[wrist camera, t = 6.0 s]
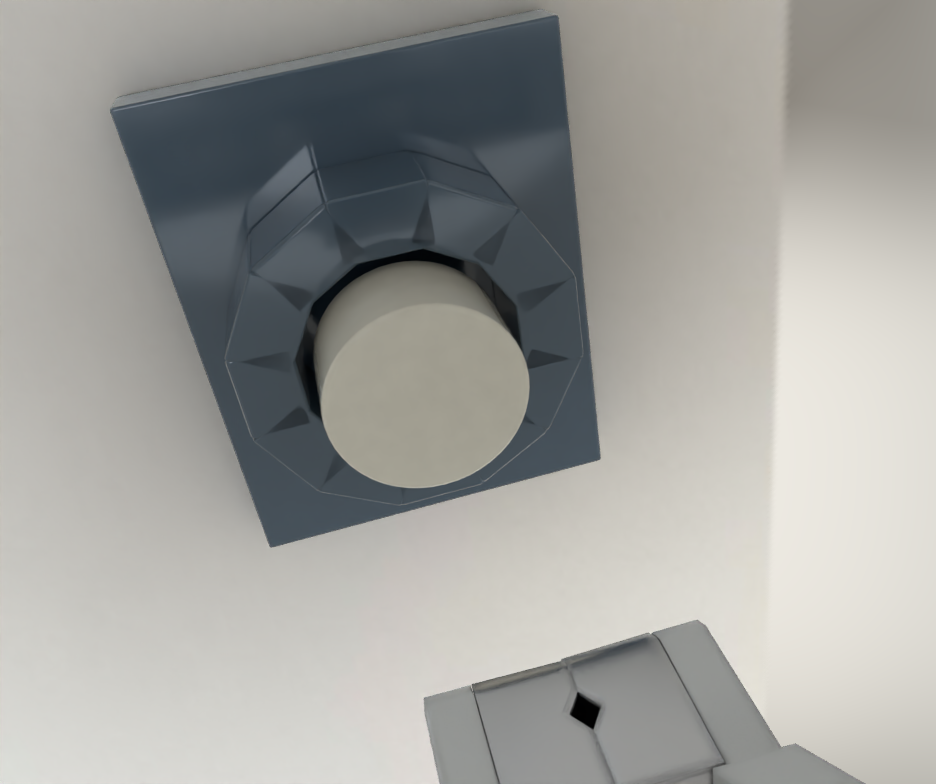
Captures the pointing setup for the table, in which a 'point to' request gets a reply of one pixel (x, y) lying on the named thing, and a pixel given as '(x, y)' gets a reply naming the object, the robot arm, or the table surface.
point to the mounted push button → (369, 239)
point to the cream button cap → (418, 375)
